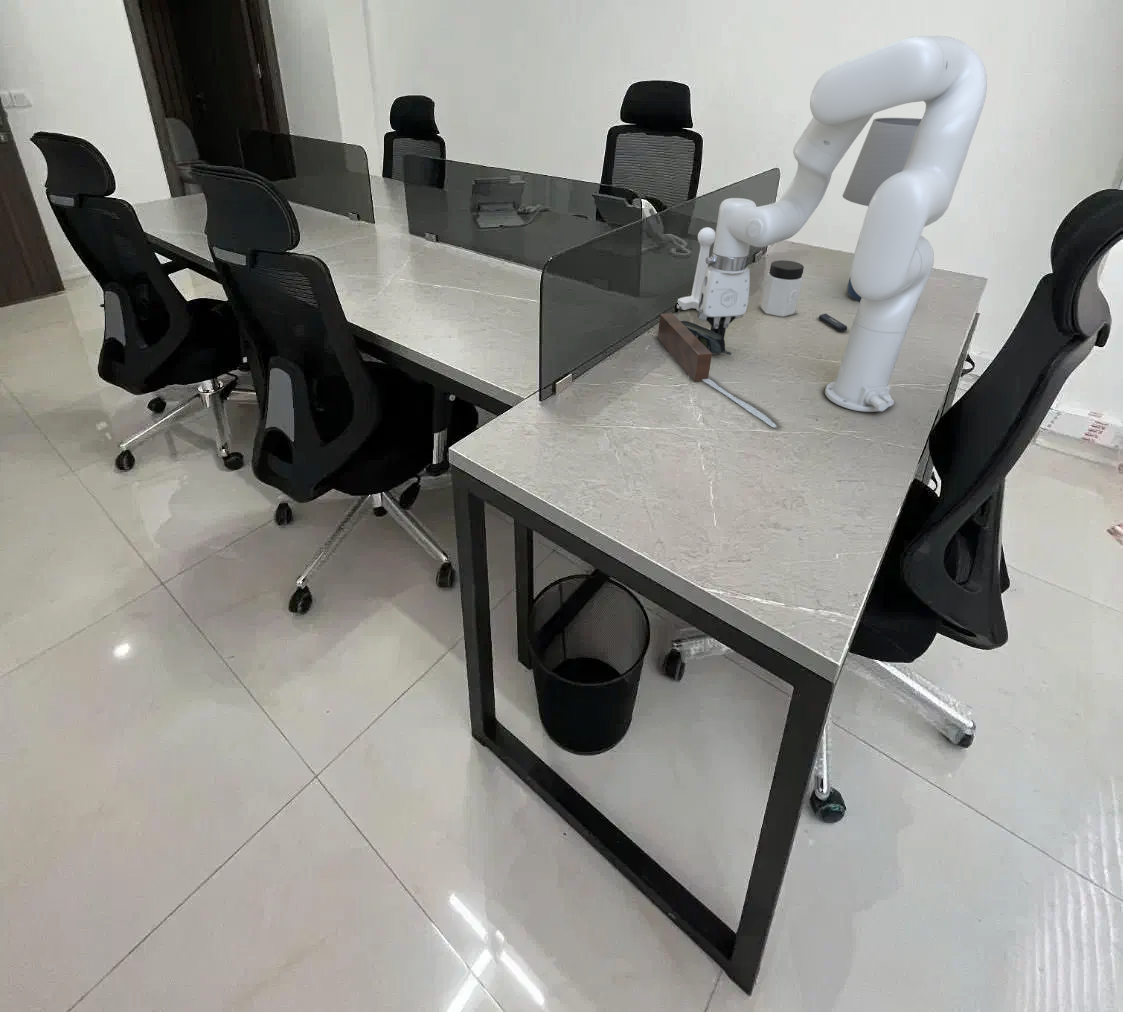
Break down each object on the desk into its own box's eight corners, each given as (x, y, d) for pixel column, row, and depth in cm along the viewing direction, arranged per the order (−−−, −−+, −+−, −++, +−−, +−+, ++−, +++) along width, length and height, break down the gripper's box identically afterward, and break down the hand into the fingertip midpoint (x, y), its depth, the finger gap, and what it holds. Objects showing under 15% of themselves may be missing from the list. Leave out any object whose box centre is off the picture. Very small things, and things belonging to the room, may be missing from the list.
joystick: (709, 301, 178) (722, 224, 167) (725, 310, 173) (738, 231, 161) (674, 306, 175) (684, 227, 163) (688, 315, 169) (700, 234, 157)
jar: (777, 318, 169) (788, 271, 162) (754, 309, 174) (763, 263, 167) (800, 312, 173) (812, 266, 166) (777, 303, 178) (787, 258, 171)
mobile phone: (672, 323, 152) (723, 341, 143) (681, 317, 153) (732, 334, 144) (675, 341, 156) (725, 360, 146) (683, 334, 157) (733, 353, 147)
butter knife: (700, 368, 142) (688, 369, 141) (783, 425, 123) (771, 428, 122) (699, 370, 142) (688, 372, 141) (782, 428, 123) (770, 430, 122)
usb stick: (817, 319, 169) (818, 313, 168) (825, 318, 170) (827, 312, 169) (838, 332, 162) (840, 326, 161) (847, 331, 162) (849, 325, 161)
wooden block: (707, 380, 138) (712, 353, 135) (694, 381, 138) (698, 354, 134) (669, 337, 157) (672, 313, 153) (657, 338, 156) (660, 313, 153)
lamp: (821, 308, 176) (869, 125, 151) (815, 280, 196) (856, 114, 171) (921, 317, 172) (988, 131, 146) (904, 288, 191) (960, 119, 166)
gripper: (702, 268, 137) (691, 351, 147) (769, 265, 139) (752, 347, 150) (690, 258, 142) (679, 338, 153) (753, 255, 145) (739, 335, 156)
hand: (715, 342), depth 152 cm, fingers closed
